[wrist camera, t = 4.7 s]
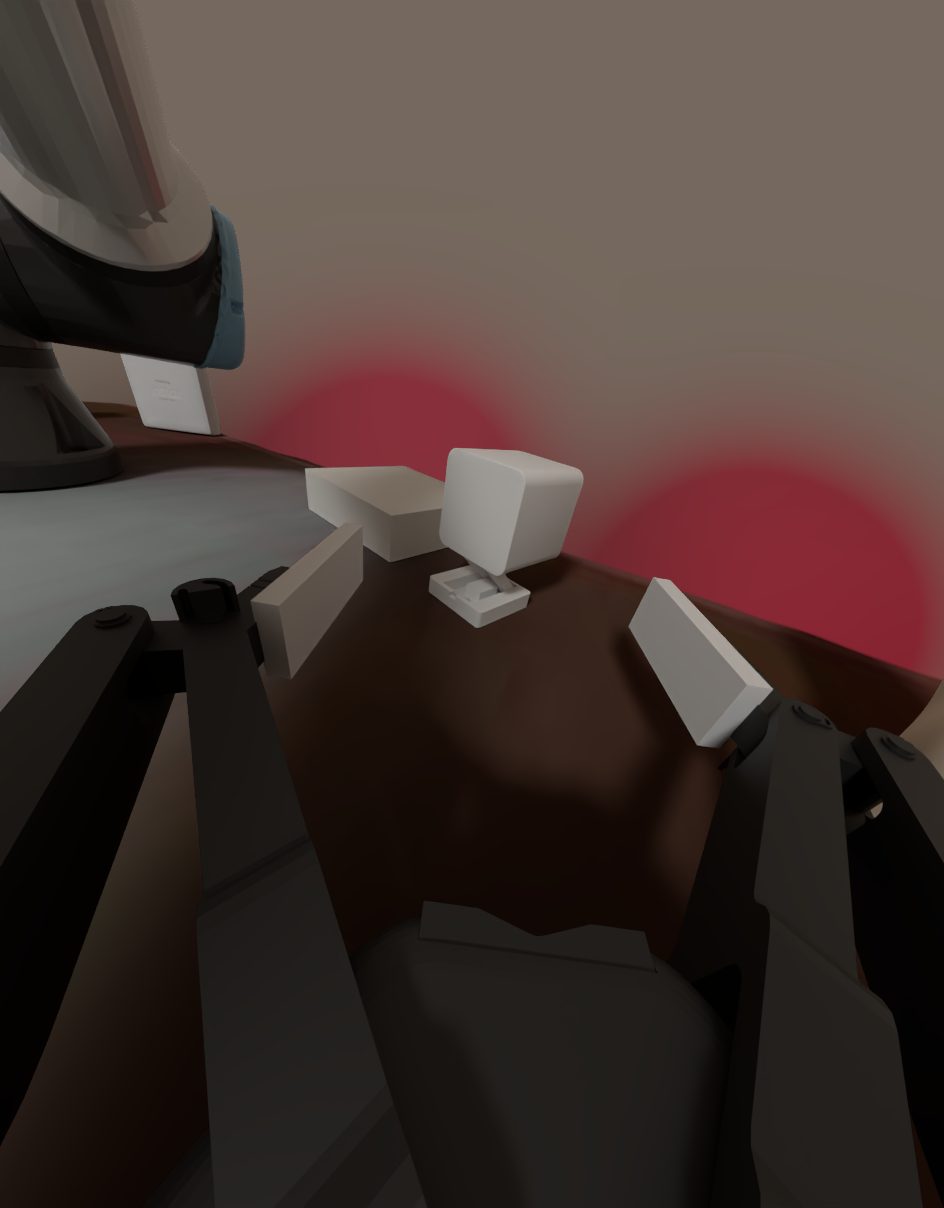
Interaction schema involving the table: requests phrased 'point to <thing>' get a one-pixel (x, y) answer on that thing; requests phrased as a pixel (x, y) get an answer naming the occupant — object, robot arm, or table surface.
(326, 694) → the table surface
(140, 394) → the photo printer
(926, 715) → the water bottle
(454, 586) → the security camera
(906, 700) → the table surface
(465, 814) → the table surface
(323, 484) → the plinth
